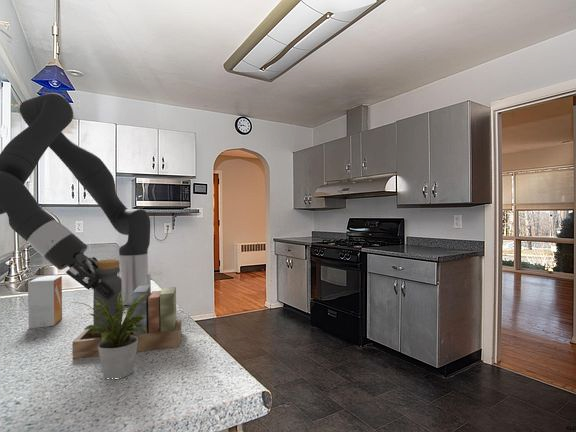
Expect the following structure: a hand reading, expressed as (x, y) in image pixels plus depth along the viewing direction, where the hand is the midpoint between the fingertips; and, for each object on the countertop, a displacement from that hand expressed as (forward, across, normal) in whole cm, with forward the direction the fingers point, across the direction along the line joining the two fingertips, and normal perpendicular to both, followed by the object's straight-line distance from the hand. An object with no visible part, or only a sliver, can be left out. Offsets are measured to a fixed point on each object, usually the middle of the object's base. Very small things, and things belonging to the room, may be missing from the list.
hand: (115, 293), depth 80 cm
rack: (+11, 0, +6) cm, 13 cm away
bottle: (+4, 0, +6) cm, 8 cm away
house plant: (+11, -16, +7) cm, 21 cm away
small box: (-8, +25, +26) cm, 37 cm away
